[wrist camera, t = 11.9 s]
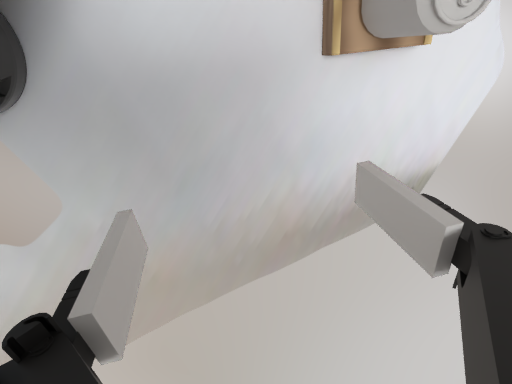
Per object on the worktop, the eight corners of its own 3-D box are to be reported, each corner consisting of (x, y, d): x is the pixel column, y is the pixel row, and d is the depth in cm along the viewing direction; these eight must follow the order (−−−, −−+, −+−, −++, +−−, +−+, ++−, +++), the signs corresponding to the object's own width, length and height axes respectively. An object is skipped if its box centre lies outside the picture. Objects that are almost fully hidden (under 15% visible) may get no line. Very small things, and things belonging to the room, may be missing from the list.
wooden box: (322, 55, 38) (332, 55, 35) (323, -37, 33) (336, -46, 30) (413, 44, 39) (430, 44, 36) (428, -45, 34) (449, -54, 32)
